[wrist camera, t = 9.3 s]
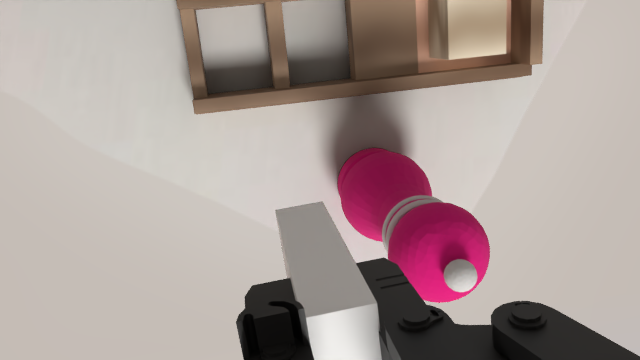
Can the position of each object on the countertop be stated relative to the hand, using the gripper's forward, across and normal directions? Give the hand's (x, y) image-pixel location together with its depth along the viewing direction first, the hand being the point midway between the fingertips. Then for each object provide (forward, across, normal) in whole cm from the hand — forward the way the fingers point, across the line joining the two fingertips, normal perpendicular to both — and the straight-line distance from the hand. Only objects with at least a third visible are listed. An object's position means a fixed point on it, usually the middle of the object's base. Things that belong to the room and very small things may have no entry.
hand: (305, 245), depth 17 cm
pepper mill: (+29, +9, -8) cm, 31 cm away
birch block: (+26, +16, +5) cm, 32 cm away
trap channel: (+28, +9, +5) cm, 30 cm away
